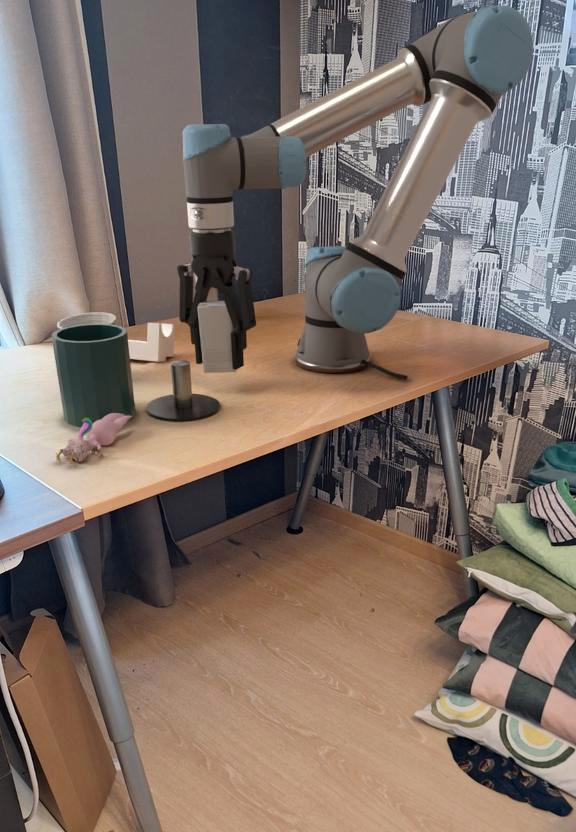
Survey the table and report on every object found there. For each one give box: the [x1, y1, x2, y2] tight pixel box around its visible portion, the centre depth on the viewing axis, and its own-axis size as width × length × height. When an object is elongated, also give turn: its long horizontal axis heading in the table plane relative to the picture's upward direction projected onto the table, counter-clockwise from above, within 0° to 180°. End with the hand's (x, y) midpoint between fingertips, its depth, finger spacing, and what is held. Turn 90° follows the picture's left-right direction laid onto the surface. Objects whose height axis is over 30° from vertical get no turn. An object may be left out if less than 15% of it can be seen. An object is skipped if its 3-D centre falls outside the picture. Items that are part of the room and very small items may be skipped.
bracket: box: [128, 322, 176, 363], centre depth 151 cm, size 13×7×8 cm, turn 72°
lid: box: [145, 359, 221, 422], centre depth 122 cm, size 13×13×9 cm
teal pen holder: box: [51, 324, 137, 428], centre depth 118 cm, size 12×12×14 cm
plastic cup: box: [56, 311, 117, 330], centre depth 136 cm, size 11×11×12 cm
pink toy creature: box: [55, 413, 133, 468], centre depth 109 cm, size 6×6×15 cm
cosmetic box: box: [197, 300, 237, 374], centre depth 128 cm, size 6×4×12 cm
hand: (219, 364), depth 130 cm, fingers closed on cosmetic box, 7 cm apart
